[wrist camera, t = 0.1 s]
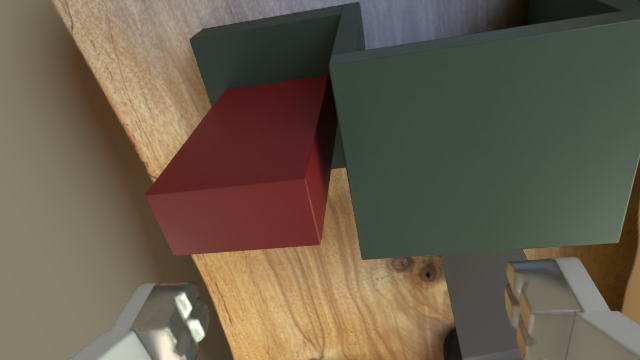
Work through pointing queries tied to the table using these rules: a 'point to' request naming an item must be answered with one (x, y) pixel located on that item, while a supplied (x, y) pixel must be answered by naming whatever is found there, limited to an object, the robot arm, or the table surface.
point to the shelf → (464, 122)
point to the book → (251, 171)
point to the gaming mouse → (452, 347)
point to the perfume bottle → (482, 303)
